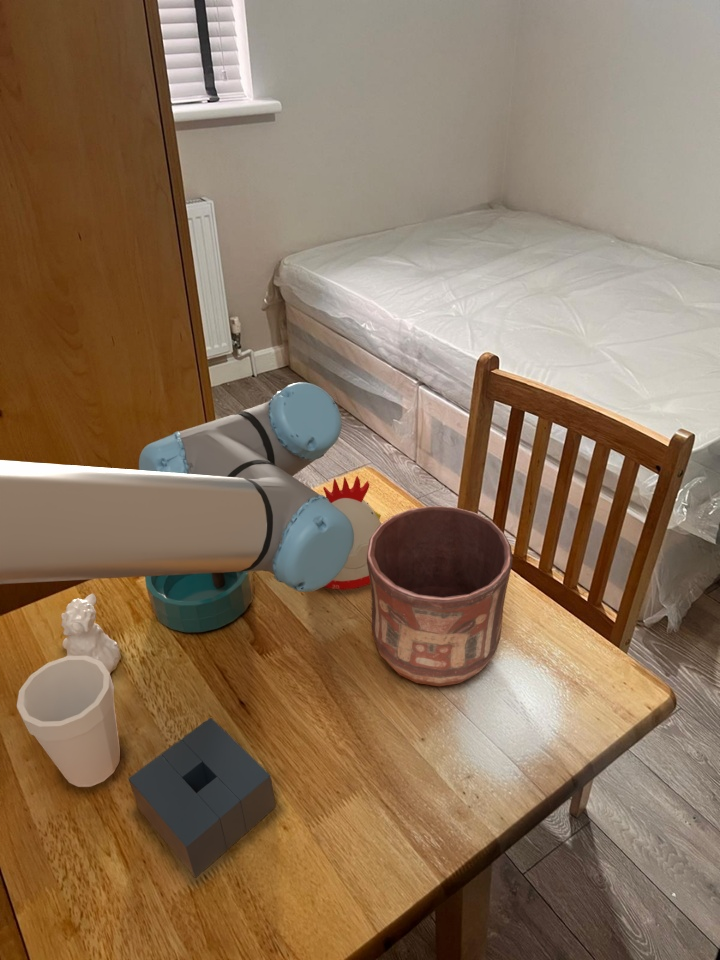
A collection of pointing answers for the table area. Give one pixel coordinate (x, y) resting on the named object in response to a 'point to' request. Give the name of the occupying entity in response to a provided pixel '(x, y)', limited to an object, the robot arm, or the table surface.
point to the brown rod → (218, 579)
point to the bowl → (199, 600)
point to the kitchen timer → (363, 528)
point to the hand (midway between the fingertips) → (193, 518)
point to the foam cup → (73, 717)
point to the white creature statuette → (88, 634)
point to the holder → (203, 795)
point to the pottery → (438, 592)
